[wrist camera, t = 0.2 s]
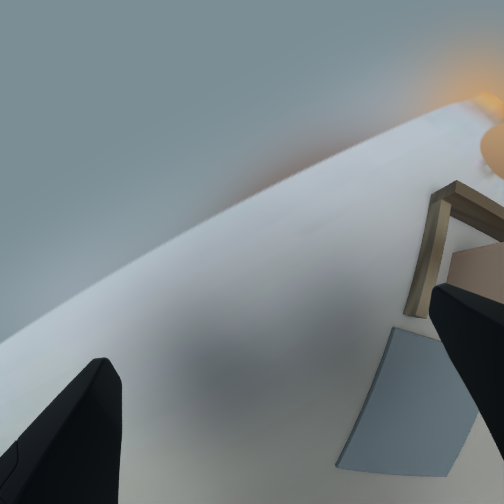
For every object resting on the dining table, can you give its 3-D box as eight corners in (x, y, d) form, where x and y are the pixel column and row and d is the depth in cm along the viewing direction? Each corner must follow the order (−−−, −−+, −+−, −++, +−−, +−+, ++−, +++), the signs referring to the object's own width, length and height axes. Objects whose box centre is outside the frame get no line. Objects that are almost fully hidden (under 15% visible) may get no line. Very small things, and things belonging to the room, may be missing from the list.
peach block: (477, 319, 22) (560, 326, 13) (440, 306, 23) (526, 309, 13) (488, 269, 23) (570, 258, 13) (452, 253, 23) (536, 233, 13)
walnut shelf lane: (495, 343, 22) (523, 348, 18) (403, 313, 23) (429, 316, 19) (515, 240, 23) (543, 233, 19) (431, 194, 24) (456, 179, 20)
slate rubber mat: (444, 474, 21) (446, 476, 20) (335, 464, 21) (336, 467, 21) (494, 357, 22) (497, 358, 21) (393, 327, 22) (395, 327, 22)
